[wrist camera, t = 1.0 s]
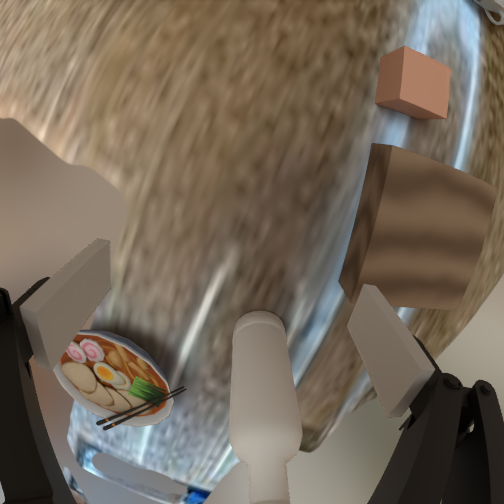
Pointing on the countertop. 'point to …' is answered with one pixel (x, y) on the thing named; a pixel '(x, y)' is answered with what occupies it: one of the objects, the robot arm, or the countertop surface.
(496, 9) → the teacup
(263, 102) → the countertop surface
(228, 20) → the countertop surface
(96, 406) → the ramen bowl
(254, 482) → the bottle
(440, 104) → the terracotta cube
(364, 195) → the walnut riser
